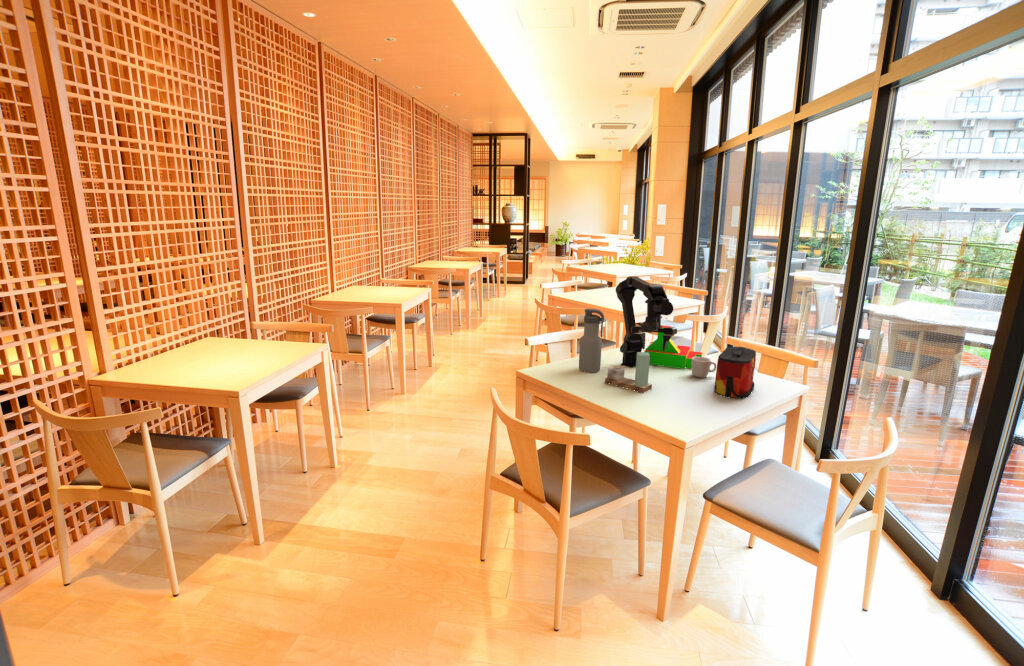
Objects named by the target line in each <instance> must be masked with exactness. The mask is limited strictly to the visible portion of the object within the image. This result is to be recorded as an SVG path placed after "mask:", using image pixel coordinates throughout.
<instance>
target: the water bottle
mask: <svg viewBox="0 0 1024 666" xmlns="http://www.w3.org/2000/svg"><path fill="white" fill-rule="evenodd" d="M584 313H585V314H584V316H583V323H584V326H583V335H582V336H581V337H580V339H579V351H578V369H580V371H581V370H582V371H581V372H583V371H585V372H584V373H587V372H595V373H598V372H600V371H601V361H602V346H603V345H602V344H603V340H602V338H603V332H604V331H603V330H604V329H603V328H604V322H605V315H604V313H603V311H601V310H600V309H596V308H585V309H584ZM600 322H601V324H600ZM599 329H600V330H599ZM599 333H600V335H599Z"/></svg>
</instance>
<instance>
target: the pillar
mask: <svg viewBox="0 0 1024 666" xmlns="http://www.w3.org/2000/svg"><path fill="white" fill-rule="evenodd" d="M649 362H650V355H649V353H648V352H644V351H643V352H642V351H641V352H637V358H636V366H635V373H634V374H635V375H634V380H635V384H636V386H647V387H648V384H649V375H650V374H649V372H650V371H649V370H650V364H649Z"/></svg>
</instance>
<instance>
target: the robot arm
mask: <svg viewBox="0 0 1024 666" xmlns="http://www.w3.org/2000/svg"><path fill="white" fill-rule="evenodd" d="M637 290H638V291H641V292H642V295H643V296H644V297H645V298H646V299H645V301H644V303H645V304H646V305H647V306H646V316H645V319H644V321H643V322H642V323H641V324H640V325H637V324H636V317H635V311H634V310H635V309H634V305H633V301H634V297H635V295H636V291H637ZM615 293H616V297H617V300H619V302H620V303H621V308H622V313H623V320H624V327H625V335H624V337H623V343H621V345H620V347H619V350H620V351H619V352H620V353H622V360H621V361H622V362H621V363H620V365H621V366H624V367H628V368H634V367H635V368H636V358H637V352H642V351H643V350H645V349H646V348H645V347H646V333H648V334H652V333H658V332H660V333H664V334H665V335H663V351H665V349H666V346H667V344H668V342H669V340H670V339H671V338H672V337H673V336H675V335H678V329H677V327H676V326H671V327H665V328H662V326H661V325H662V324H661V322H662V321H661V319H663V316H670V315H672V313H673V312H674V305H673V303H672V302H670V298H668V295H667V294H666V291H665V289H664V286H663V284H658V283H650V282H648V281H646V280H644V279H642V278H640V277H639V276H636V275H633V276H628V277H626V279H624V280H623V281H621V282H619V283H618V285H616V287H615Z"/></svg>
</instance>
